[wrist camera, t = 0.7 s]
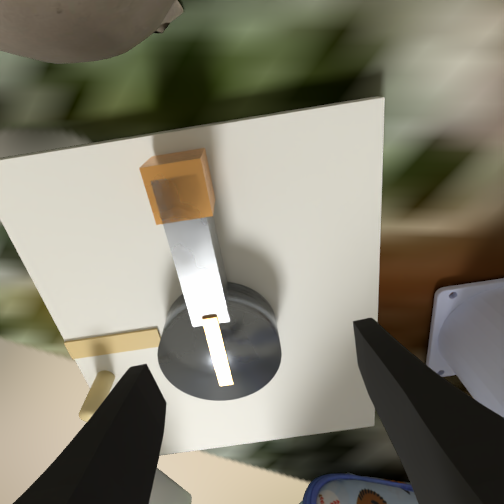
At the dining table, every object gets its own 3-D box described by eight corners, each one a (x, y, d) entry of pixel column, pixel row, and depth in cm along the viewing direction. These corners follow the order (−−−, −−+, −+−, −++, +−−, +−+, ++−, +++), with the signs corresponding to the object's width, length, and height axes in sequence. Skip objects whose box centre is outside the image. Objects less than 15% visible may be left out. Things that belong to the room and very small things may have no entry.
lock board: (376, 96, 17) (415, 101, 13) (369, 414, 28) (389, 464, 24) (-15, 160, 17) (-81, 181, 14) (131, 447, 28) (116, 501, 25)
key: (282, 360, 23) (287, 394, 20) (181, 374, 23) (174, 410, 21) (250, 139, 16) (252, 150, 14) (108, 162, 16) (86, 177, 14)
